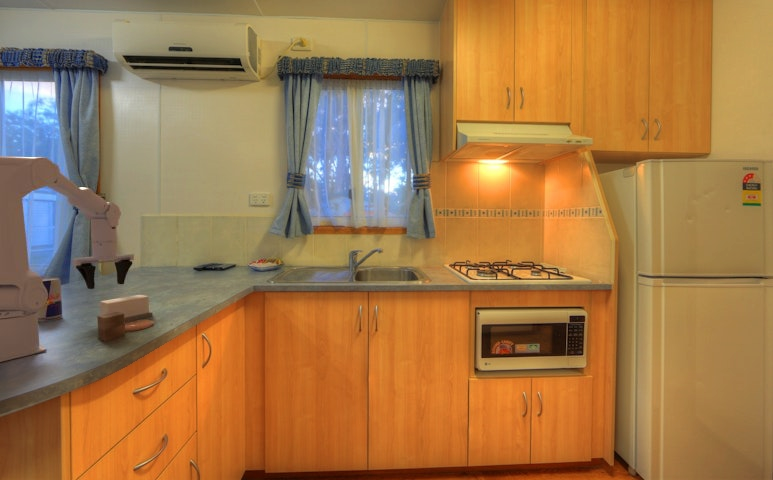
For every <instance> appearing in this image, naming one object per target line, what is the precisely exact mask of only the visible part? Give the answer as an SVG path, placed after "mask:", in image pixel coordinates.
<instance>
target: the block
mask: <svg viewBox="0 0 773 480" xmlns="http://www.w3.org/2000/svg"><path fill="white" fill-rule="evenodd" d="M96 317H97V334H98V335H97V336H98V337H97V338H98V340H100V341H102V342H104V343H108V342H112V341H115V340H120V339H123V338H126V332H125V323H126V322H124V314H123V313H120V312H113V313H108V314H103V315H101V314H98V315H97V316H96Z"/></svg>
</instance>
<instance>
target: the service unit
mask: <svg viewBox="0 0 773 480" xmlns="http://www.w3.org/2000/svg"><path fill="white" fill-rule="evenodd" d="M113 312H120V313H123V314H124V322H125V323H127V322H132V321H136V320H140V319H144V318H148V317H152V316H153V312H152V311H150V301H149V296H148V295H144V294H137V295H130V296H124V297H118V298H113V299H111V298H110V299H107V300H100V315H103V314H108V313H113Z"/></svg>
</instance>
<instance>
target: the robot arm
mask: <svg viewBox="0 0 773 480" xmlns="http://www.w3.org/2000/svg"><path fill="white" fill-rule="evenodd" d="M45 187H48V188H49V189H51V190H53V191H55V192H57V193H59V194H61V195H63V196H64V197H66V198H67V201H68V203H69V204H70V205H71V206H73V207H75V208H76V209H78V210H80V211H81V212H82V213H83V214H84V216H85V218H86V219H87V220H88V221H90V231H91V232H90V233H91V235H90V236H91V237H90V238H91V254H92V256H85V257H84V256H83V257H77V258H72V266H75V268H76V270H77V271H78V272H79V274H80V275H81V276H82V278H83V280H84V282H85V284H86V287H87V289H88V290H94V289H95V287H96V285H95V274H96V273H95V272H96V269H97V267H96V266H95V264H104V263H114V266H115V270H116V283H117V284H118V285H124V284H125V280H126V278H127V274H128V272H129V269H131V267H132V266H133V261H135V258H134V257H135V256H134V255H135V254H134V253H125V254H118V239H117V227H118V225H119V221H120V218H121V215H122V212H121V209H120V207H119V206H118V205H117V204H116V203H114V202H111V201H110V202H107V200H105V199H104V198H103V197H102V196H99V195H98V194H97V193H94V191H93V189H91V188H90V187H79V186H77V185H76V184H75V183H74V182H73V181H72V180H70V179H69V178H68V177H66V176H65V175H64V174H62V172H60V167H59V165H58V164H56V163H55V162H53V161H52V160H51V159H49V158H48V157H44V156H37V157H35V156H33V157H32V156H30V157H29V156H25V157H24V156H5V155H0V363H2V362H5V361H10V360H13V359H14V360H15V359H18V358H23V357H26V356H31V355H36V354H38V353H39V354H40V353H43V352H46V351H47V348H46V347H44V346H43V345H41V344H40V334H39V331H40V330H39V322H38V313H37V312H38V311H41V308H42V307H43V306H44V305H45V304H46V302H47V299H48V292H47V289H46V288H45V286H44V285H43V280H42V279H43V277H42V276H41V275H39V274H38V273H37V272H35V271H34V270H32V269H31V268H30V262H29V253H28V244H27V243H28V241H27V233H26V232H27V231H26V224H25V214H24V203H23V199H24V198H25V197H26V196H27V195H29V194H30V193H32V192H34V191H38V190H40V189H43V188H45ZM93 264H94V265H93Z"/></svg>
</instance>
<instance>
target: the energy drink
mask: <svg viewBox="0 0 773 480" xmlns="http://www.w3.org/2000/svg"><path fill="white" fill-rule="evenodd" d="M42 280H43V285H44V286H45V288H46V289H47V292H48V299H47V302H46V304H45V305H44V306H43V307H42V308H41V311H38V312H37V313H38V321H39V322H40V323H42V322H43V323H46V322H52V321H57V320H59V319H62V317H63V303H62V302H63V301H62V286H61V285H62V283H61V280H60V278H59V277H48V278H42ZM39 322H38V323H39Z"/></svg>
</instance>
